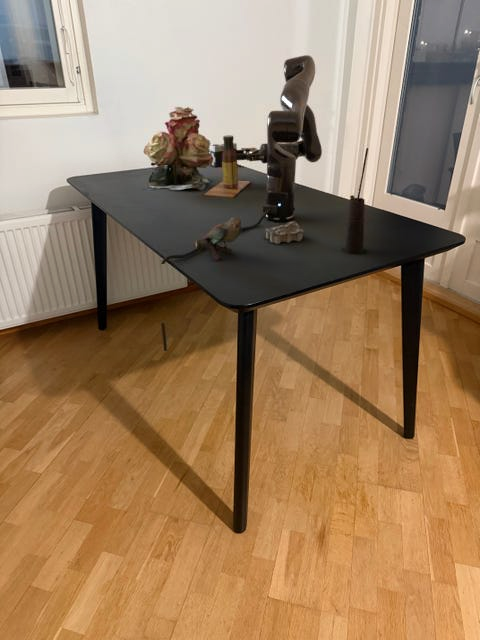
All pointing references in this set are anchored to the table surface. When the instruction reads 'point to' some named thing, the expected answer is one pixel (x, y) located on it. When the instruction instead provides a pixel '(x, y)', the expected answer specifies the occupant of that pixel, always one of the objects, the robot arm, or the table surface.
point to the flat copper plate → (226, 190)
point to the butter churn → (356, 221)
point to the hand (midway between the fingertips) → (234, 155)
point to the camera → (218, 153)
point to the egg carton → (284, 233)
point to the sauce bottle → (229, 163)
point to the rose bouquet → (179, 153)
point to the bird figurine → (221, 237)
